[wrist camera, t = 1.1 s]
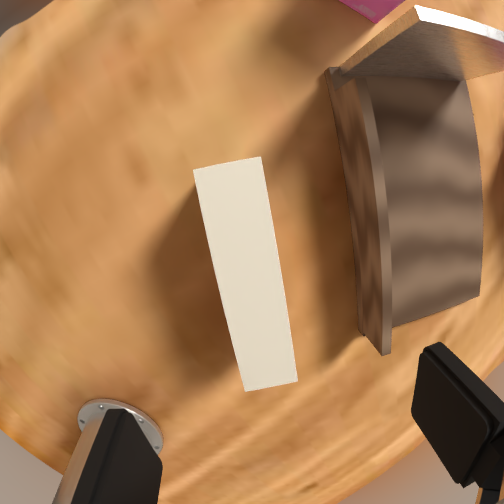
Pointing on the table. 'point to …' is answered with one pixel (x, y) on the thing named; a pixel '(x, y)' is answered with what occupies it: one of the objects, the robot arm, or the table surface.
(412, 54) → the bookend
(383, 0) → the gum box
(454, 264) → the walnut shelf
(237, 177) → the cream book
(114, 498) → the robot arm
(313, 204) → the table surface
